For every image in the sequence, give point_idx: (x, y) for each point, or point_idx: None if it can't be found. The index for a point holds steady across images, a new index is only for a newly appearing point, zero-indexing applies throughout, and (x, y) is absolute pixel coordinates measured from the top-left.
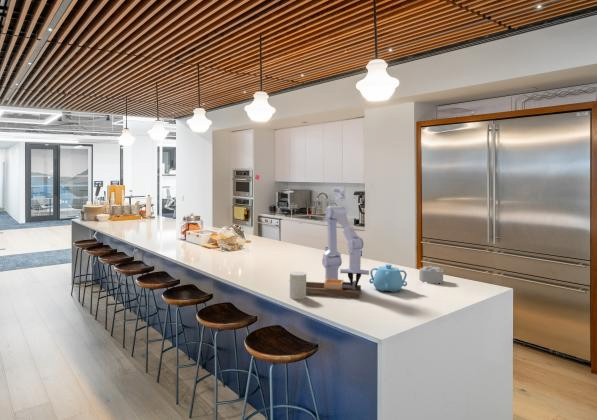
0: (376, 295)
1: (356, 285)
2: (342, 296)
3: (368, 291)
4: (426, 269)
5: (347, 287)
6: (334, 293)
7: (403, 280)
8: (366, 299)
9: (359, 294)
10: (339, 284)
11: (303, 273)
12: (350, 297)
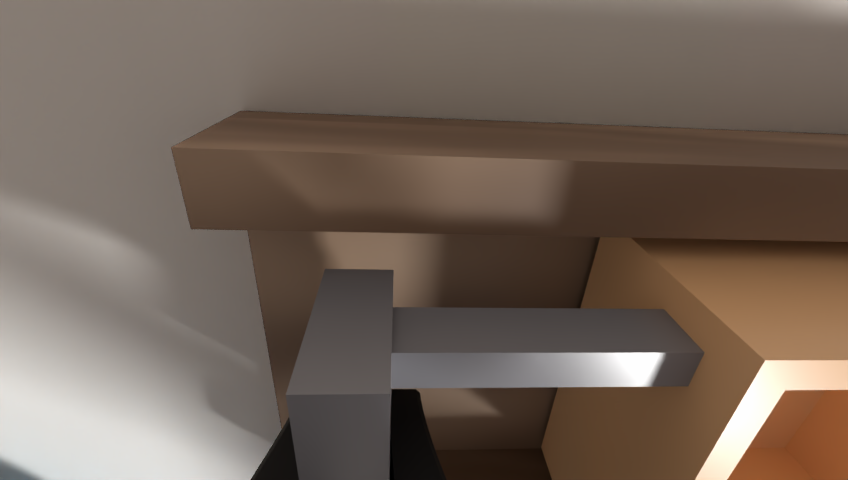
0: (4, 348)
1: (289, 445)
2: (585, 128)
3: (193, 475)
4: None
5: (526, 319)
6: (782, 147)
7: None
8: (67, 62)
9: (259, 275)
10: (821, 345)
11: None
12: (421, 119)
